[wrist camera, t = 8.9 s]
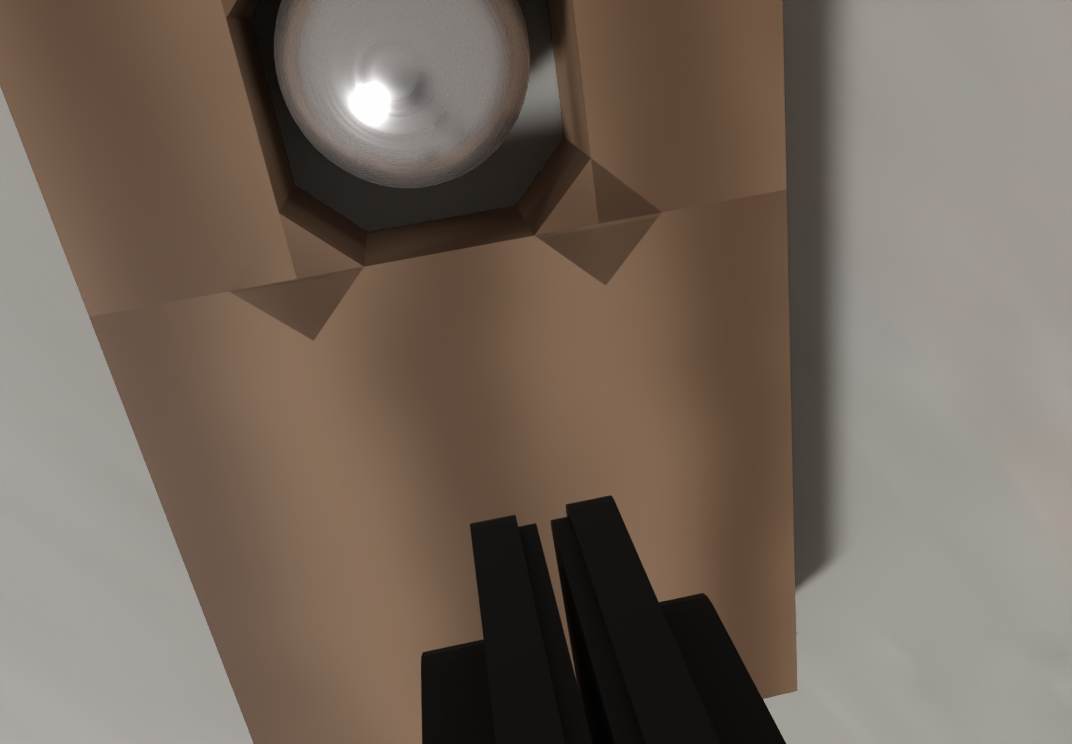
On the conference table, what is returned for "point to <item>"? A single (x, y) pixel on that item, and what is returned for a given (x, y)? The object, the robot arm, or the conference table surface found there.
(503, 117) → the ball
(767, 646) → the deck
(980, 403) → the conference table surface
